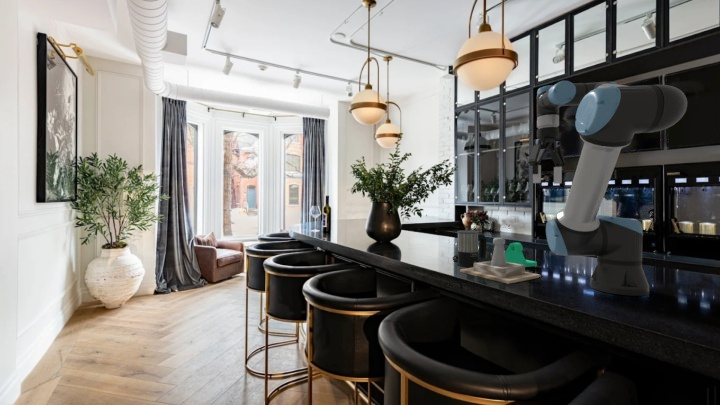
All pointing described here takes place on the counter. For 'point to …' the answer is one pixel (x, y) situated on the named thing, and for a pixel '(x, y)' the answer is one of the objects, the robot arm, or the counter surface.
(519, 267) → the socket holder
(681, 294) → the counter surface
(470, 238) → the milk frother
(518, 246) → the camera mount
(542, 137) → the robot arm
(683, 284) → the counter surface
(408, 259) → the counter surface
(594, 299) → the counter surface
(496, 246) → the salt shaker
